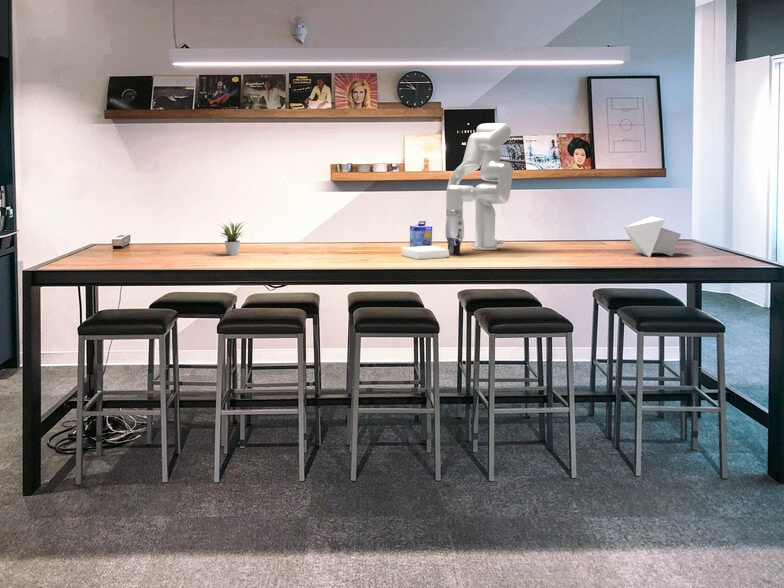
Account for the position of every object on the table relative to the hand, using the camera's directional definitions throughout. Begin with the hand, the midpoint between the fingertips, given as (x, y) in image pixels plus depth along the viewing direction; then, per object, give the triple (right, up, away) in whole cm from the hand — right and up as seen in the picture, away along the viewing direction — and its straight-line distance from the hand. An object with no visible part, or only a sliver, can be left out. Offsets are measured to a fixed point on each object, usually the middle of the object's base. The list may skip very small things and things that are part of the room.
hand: (453, 252), depth 371 cm
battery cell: (0, -1, 0) cm, 1 cm away
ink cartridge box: (-15, +1, +13) cm, 20 cm away
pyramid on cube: (+90, -1, -1) cm, 90 cm away
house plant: (-101, -1, +2) cm, 101 cm away
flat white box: (-14, -2, -6) cm, 15 cm away
